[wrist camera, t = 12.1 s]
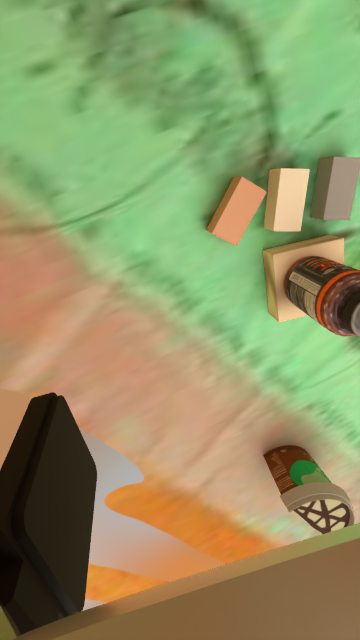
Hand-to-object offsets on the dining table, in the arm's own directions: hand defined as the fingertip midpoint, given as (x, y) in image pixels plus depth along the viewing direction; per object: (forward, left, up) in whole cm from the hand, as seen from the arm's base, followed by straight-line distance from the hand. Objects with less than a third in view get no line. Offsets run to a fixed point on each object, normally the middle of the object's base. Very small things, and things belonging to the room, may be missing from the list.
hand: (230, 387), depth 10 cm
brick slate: (-1, +20, -29) cm, 35 cm away
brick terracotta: (-1, +9, -29) cm, 30 cm away
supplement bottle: (+8, +15, -26) cm, 31 cm away
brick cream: (-1, +14, -29) cm, 32 cm away
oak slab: (+8, +16, -29) cm, 34 cm away
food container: (+37, +14, -29) cm, 49 cm away
